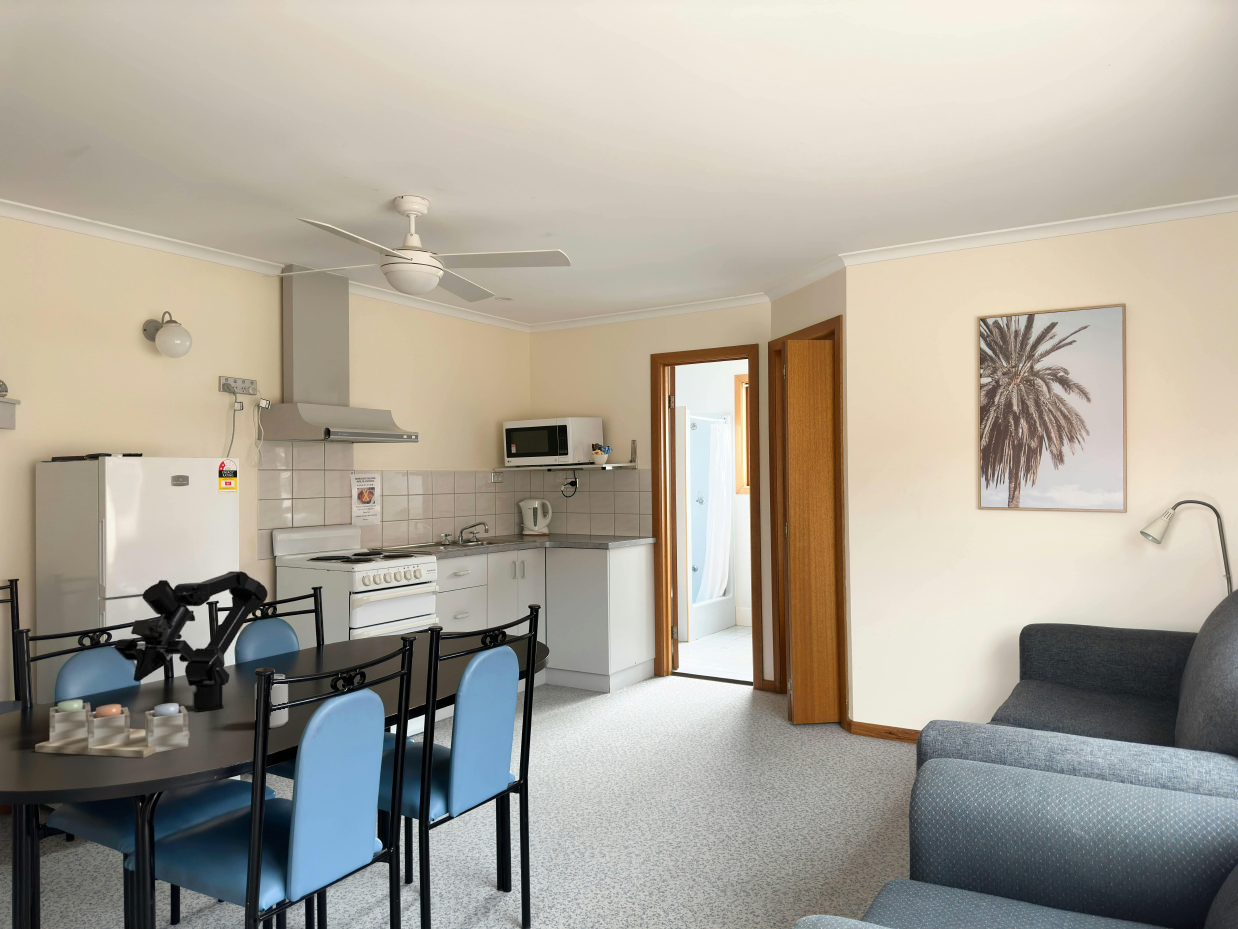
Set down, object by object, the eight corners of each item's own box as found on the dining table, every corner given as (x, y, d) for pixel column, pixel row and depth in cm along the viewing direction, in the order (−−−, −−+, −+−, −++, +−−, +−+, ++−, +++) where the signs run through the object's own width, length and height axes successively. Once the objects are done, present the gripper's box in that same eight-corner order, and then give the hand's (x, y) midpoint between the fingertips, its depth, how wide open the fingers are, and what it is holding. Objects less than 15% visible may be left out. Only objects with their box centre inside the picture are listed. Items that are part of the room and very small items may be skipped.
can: (275, 730, 196) (275, 680, 196) (248, 729, 197) (247, 679, 197) (294, 721, 203) (294, 673, 203) (267, 720, 204) (267, 672, 205)
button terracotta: (120, 716, 189) (120, 703, 189) (121, 720, 185) (121, 707, 185) (95, 719, 186) (95, 706, 186) (96, 724, 182) (96, 711, 182)
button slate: (177, 715, 189) (177, 702, 189) (179, 719, 185) (179, 706, 185) (153, 718, 186) (153, 705, 186) (155, 723, 182) (155, 710, 182)
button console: (72, 732, 197) (72, 701, 197) (206, 738, 190) (206, 706, 190) (18, 751, 183) (18, 717, 183) (160, 758, 176) (160, 723, 176)
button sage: (82, 711, 194) (82, 698, 194) (82, 715, 190) (82, 702, 190) (57, 714, 191) (57, 701, 191) (57, 719, 187) (57, 706, 187)
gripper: (119, 606, 201) (82, 660, 190) (186, 606, 197) (151, 662, 186) (144, 632, 208) (109, 686, 197) (208, 633, 205) (176, 688, 193)
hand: (135, 680), depth 193 cm, fingers closed
